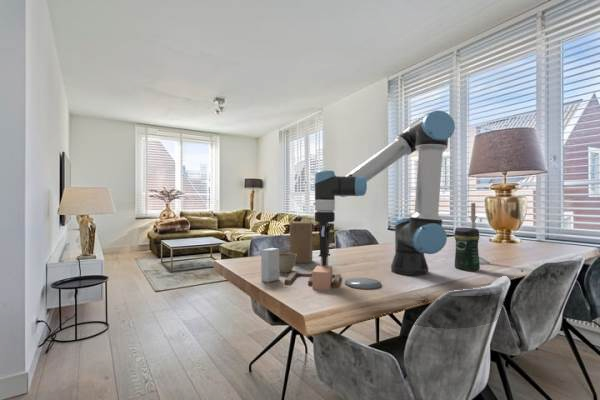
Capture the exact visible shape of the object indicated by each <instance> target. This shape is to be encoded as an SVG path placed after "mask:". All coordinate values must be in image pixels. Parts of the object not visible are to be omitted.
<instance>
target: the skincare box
mask: <svg viewBox="0 0 600 400" xmlns="http://www.w3.org/2000/svg"><path fill="white" fill-rule="evenodd" d="M260 252H261V254H260V255H261V259H260V260H261V262H260V263H261V269H260V270H261V271H260V272H261V273H260V274H261V275H260V276H261V277H260V279H261V281H262V282H266V283H270V282H273V281H277V280H279V279H280V271H279V253H280V248H276V247H269V248H268V247H267V248H264V249H261V250H260Z"/></svg>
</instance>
